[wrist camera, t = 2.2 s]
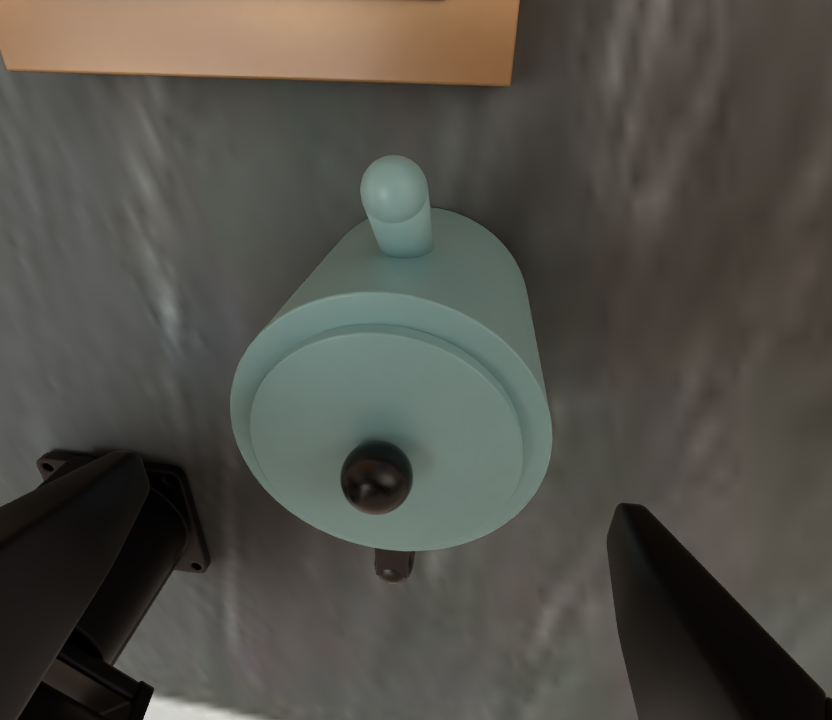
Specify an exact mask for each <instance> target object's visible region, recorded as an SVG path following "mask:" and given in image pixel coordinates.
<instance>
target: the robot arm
mask: <svg viewBox="0 0 832 720" xmlns="http://www.w3.org/2000/svg"><path fill="white" fill-rule="evenodd" d="M37 467H38V469H39V471H40V473H41V475H42V477H43V479H44V482H43V483H42V484H41V485H40V486H39V487H38V488H37V489H35V490H34V491H32V492H30V493H28V494H26V495H24V496H22V497H20V498H18V499H16V500H14V501H12V502H10V503H8V504H6V505H4V506H2V507H0V720H143V718H144V715H145V713H146V710H147V707H148V705H149V702H150V699H151V697H152V694H153V691H154V688H153V687H151V686H150V685H148V684H147V683H145V682H143V681H140V682H137V681H136V680H134V679H133V678H131V677H129V676H128V675H126V674H124V673H123V672H121V671H120V670H118V669H116V668H115V667H113V665H114V664H115V662H116V661H117V659H118V657H119V656H120V654H121V653H122V651H123V649H124V648H125V646H126V645H127V643H128V642H129V640H130V638H131V637H132V635H133V634H134V632H135V630H136V629H137V627H138V626H139V624H140V622H141V621H142V619H143V618H144V616H145V614H146V613H147V611H148V610H149V608H150V606H151V605H152V603H153V602H154V600H155V599H156V597H157V595H158V594H159V592H160V591H161V589H162V587H163V586H164V584H165V583H166V581H167V579H168V578H169V576H170V575H171V573H172V571H173V570H179V571H187V572H194V573H203V572H205V571H206V570H207V568H208V566H209V565H210V557H209V554H208V550H207V547H206V543H205V540H204V536H203V533H202V529H201V526H200V522H199V519H198V515H197V512H196V508H195V505H194V501H193V498H192V494H191V491H190V488H189V484H188V481H187V477H186V474H185V473H184V471H183V470H182V469H180V468H178V467H177V466H173V465H164V464H155V463H146V462H142V459H141V456H140V455H139V454H138V453H136V452H133V451H123V450H116V451H112V452H110V453H108V454H106V455H104V456H102V457H90V456H81V455H72V454H63V453H54V452H47V453H46V454H44V455H43V456H42V457H41V458H39V459H38V460H37ZM607 551H608V559H609V567H610V575H611V583H612V590H613V598H614V606H615V614H616V621H617V628H618V634H619V639H620V643H621V648H622V652H623V656H624V661H625V665H626V669H627V673H628V677H629V681H630V685H631V690H632V694H633V698H634V702H635V706H636V710H637V714H638V719H639V720H832V699H831V698H829V697H826V694H825V692H824V690H823V689H822V688H821V687H820V686H819V685H818V684H817V683H816V682H815V681H814V680H813V679H812V678H811V677H810V676H809V675H808V674H807V673H806V672H805V671H804V670H803V669H802V668H801V667H800V666H799V665H798V664H797V663H796V662H795V661H794V659H793V658H792V657H791V656H790V655H789V654H788V653H787V652H786V651H785V650H784V649H783V648H782V647H781V646H780V645H779V644H778V643H777V642H776V641H775V640H774V639H773V638H772V637H771V636H770V635H769V634H768V633H767V632H766V631H765V630H764V629H763V628H762V627H761V625H760V624H759V623H758V622H757V621H756V620H755V619H754V618H753V617H752V616H751V615H750V614H749V613H748V612H747V611H746V610H745V609H744V608H743V607H742V606H741V605H740V604H739V603H738V602H737V601H736V600H735V599H734V598H733V597H732V596H731V595H730V594H729V593H728V591H727V590H726V589H725V588H724V587H723V586H722V585H721V584H720V583H719V582H718V581H717V580H716V579H715V578H714V577H713V576H712V575H711V574H710V573H709V572H708V571H707V570H706V569H705V568H704V567H703V566H702V565H701V564H700V563H699V562H698V561H697V560H696V559H695V557H694V556H693V555H692V554H691V553H690V552H689V551H688V550H687V549H686V548H685V547H684V546H683V545H682V544H681V543H680V542H679V541H678V540H677V539H676V538H675V537H674V536H673V535H672V534H671V533H670V532H669V531H668V530H667V529H666V528H665V527H664V526H663V525H662V523H661V522H660V521H659V520H658V519H657V518H656V517H655V516H654V515H653V514H652V513H651V512H650V511H649V510H648V509H647V508H646V507H644V506H643V505H639V504H629V503H620V504H619V505H618V506H617V507H616V510H615V513H614V516H613V519H612V522H611V525H610V528H609V531H608V535H607Z"/></svg>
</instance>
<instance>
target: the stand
mask: <svg viewBox="0 0 832 720" xmlns="http://www.w3.org/2000/svg"><path fill="white" fill-rule="evenodd" d="M519 4H520V0H0V52H1V55H2V57H3V60H4V63H5V66H6V69H7V70H9V71H16V72H48V73H80V74H113V75H145V76H177V77H209V78H242V79H274V80H306V81H338V82H370V83H403V84H435V85H467V86H499V87H508V86H510V84H511V79H512V69H513V60H514V51H515V42H516V32H517V23H518V14H519Z"/></svg>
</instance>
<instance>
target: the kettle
mask: <svg viewBox="0 0 832 720" xmlns="http://www.w3.org/2000/svg"><path fill="white" fill-rule="evenodd" d="M360 194H361V199H362V203H363V206H364V208H365V211H366V214H367V216H368V219H366V220H364V221H363V222H361V223H360V224H358V225H357V226H355V227H354V228H353V229H351V230H350V231H349V232H348V233H347V234H346V235H344V237H343V238H342V239H341V240H340V241H339V242H338V243H337V245H336V246H335V247H334V248H333V249H332V250H331V251H330V253H329V254H328V255H327V256H326V257H325V258H324V260H323V261H322V262H321V263H320V264H319V265H318V266H317V268H316V269H315V270H314V271H313V272H312V273H311V274H310V276H309V277H308V278H307V279H306V280H305V281H304V283H303V284H302V285H301V286H300V287H299V288H298V289H297V291H296V292H295V293H294V294H293V295H292V296H291V297H290V299H289V300H288V301H287V302H286V303H285V304H284V306H283V307H282V308H281V309H280V310H279V311H278V312H277V314H276V315H275V316H274V317H273V318H272V319H271V320H270V322H269V323H268V324H267V325H266V326H265V327H264V329H263V330H262V331H261V332H260V333H259V334H258V335H257V337H256V338H255V339H254V340H253V341H252V342H251V344H250V345H249V346H248V348H247V350H246V351H245V353H244V355H243V356H242V358H241V360H240V362H239V364H238V367H237V369H236V372H235V375H234V378H233V383H232V388H231V393H230V416H231V423H232V429H233V432H234V436H235V439H236V443H237V445H238V448H239V450H240V452H241V454H242V457H243V459H244V461H245V462H246V464H247V465H248V467H249V469H250V470H251V472H252V474H253V475H254V476H255V477H256V479H257V480H258V481H259V483H260V484H261V485H262V486H263V488H264V489H265V490H266V491H267V492H268V493H269V494H270V495H271V496H272V497H273V498H274V499H275V500H276V501H278V502H279V503H280V504H281V505H282V506H284V507H285V508H286V509H287V510H288V511H290V512H291V513H293V514H294V515H296V516H297V517H299V518H300V519H301V520H303V521H305V522H306V523H308V524H310V525H312V526H314V527H315V528H317V529H319V530H321V531H324V532H326V533H328V534H330V535H333V536H335V537H338V538H341V539H343V540H346V541H349V542H352V543H356V544H360V545H364V546H368V547H373V548H375V570H376V575H378V576H379V577H380V579H381V580H383V581H384V582H386V583H389V584H398V583H401V582H403V581H404V580H406V579H407V578H408V577H409V575H410V573H411V571H412V568H413V563H414V556H415V551H426V550H436V549H443V548H448V547H452V546H457V545H460V544H464V543H467V542H470V541H473V540H475V539H478V538H480V537H482V536H485V535H487V534H489V533H491V532H492V531H494V530H496V529H498V528H499V527H501V526H503V525H504V524H505V523H507V522H508V521H509V520H511V519H512V518H513V517H514V516H516V515H517V514H518V513H519V512H520V511H521V510H522V509H523V508H524V507H525V506H526V505H527V504H528V502H529V501H530V500H531V498H532V497H533V495H534V494H535V493H536V491H537V490H538V488H539V486H540V484H541V482H542V480H543V478H544V476H545V474H546V471H547V467H548V464H549V461H550V457H551V449H552V442H553V439H552V421H551V416H550V411H549V406H548V400H547V395H546V390H545V384H544V379H543V374H542V369H541V363H540V358H539V353H538V347H537V342H536V337H535V332H534V326H533V321H532V316H531V310H530V305H529V300H528V295H527V290H526V285H525V282H524V279H523V276H522V274H521V271H520V269H519V267H518V265H517V263H516V261H515V260H514V258H513V256H512V255H511V254H510V252H509V251H508V250H507V248H506V247H505V246H504V245H503V243H502V242H501V241H500V240H499V239H498V238H497V237H496V236H495V235H493V234H492V233H491V232H490V231H488V230H487V229H486V228H484V227H483V226H482V225H480V224H478V223H476V222H475V221H473V220H471V219H469V218H467V217H465V216H462V215H460V214H457V213H455V212H451V211H447V210H444V209H440V208H432V207H430V203H429V193H428V185H427V181H426V178H425V175H424V173H423V171H422V170H421V169H420V167H419V166H418V165H417V164H416V163H415V162H413V161H412V160H410V159H409V158H406V157H403V156H400V155H387V156H383V157H381V158H379V159H377V160H376V161H374V162H373V163H372V164H371V165H370V166H369V167H368V168H367V170H366V171H365V173H364V175H363V177H362V181H361V186H360Z"/></svg>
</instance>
